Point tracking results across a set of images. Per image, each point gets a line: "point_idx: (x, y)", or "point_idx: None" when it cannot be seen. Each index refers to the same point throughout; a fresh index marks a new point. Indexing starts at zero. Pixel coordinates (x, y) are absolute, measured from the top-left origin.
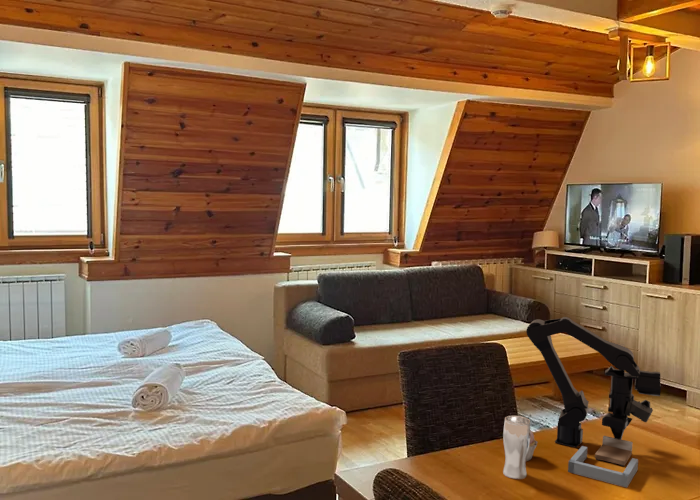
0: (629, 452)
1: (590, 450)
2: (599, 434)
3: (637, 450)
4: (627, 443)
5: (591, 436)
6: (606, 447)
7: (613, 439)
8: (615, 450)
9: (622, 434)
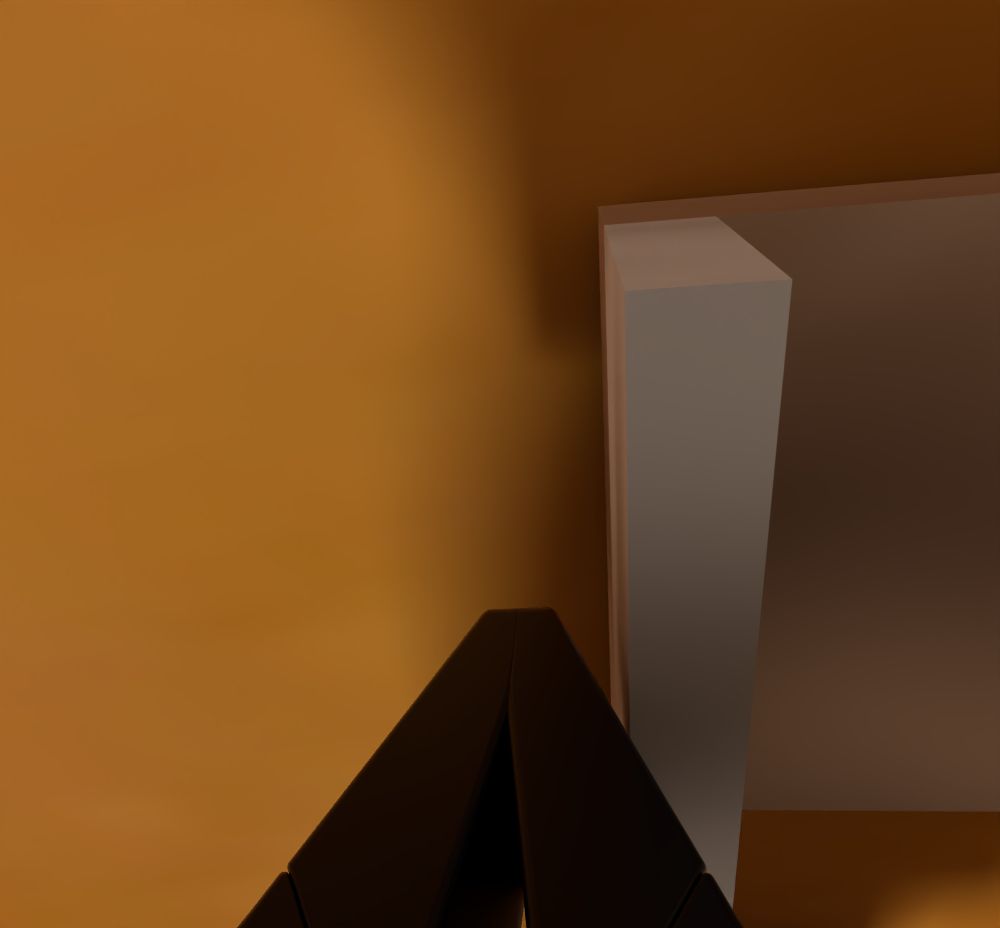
0: (883, 231)
1: (833, 828)
2: (39, 853)
3: (148, 177)
4: (754, 426)
5: (221, 905)
6: (830, 730)
7: (738, 809)
8: (929, 559)
9: (481, 788)
